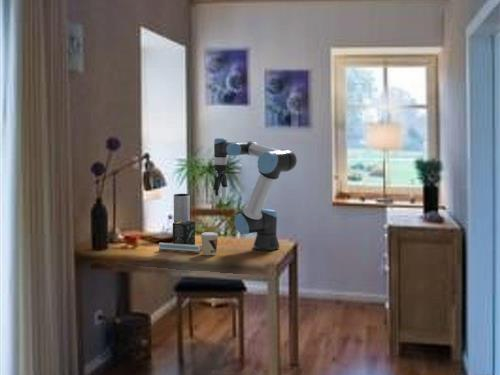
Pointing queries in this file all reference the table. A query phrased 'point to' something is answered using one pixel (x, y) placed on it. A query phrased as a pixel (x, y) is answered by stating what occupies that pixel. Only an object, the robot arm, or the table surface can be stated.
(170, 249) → the shelf board
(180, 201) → the vase
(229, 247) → the table surface
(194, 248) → the price rail
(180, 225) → the tampon box
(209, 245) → the coffee cup
